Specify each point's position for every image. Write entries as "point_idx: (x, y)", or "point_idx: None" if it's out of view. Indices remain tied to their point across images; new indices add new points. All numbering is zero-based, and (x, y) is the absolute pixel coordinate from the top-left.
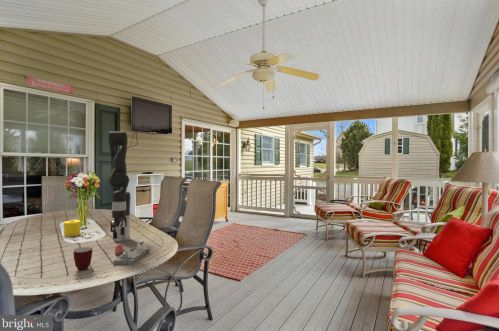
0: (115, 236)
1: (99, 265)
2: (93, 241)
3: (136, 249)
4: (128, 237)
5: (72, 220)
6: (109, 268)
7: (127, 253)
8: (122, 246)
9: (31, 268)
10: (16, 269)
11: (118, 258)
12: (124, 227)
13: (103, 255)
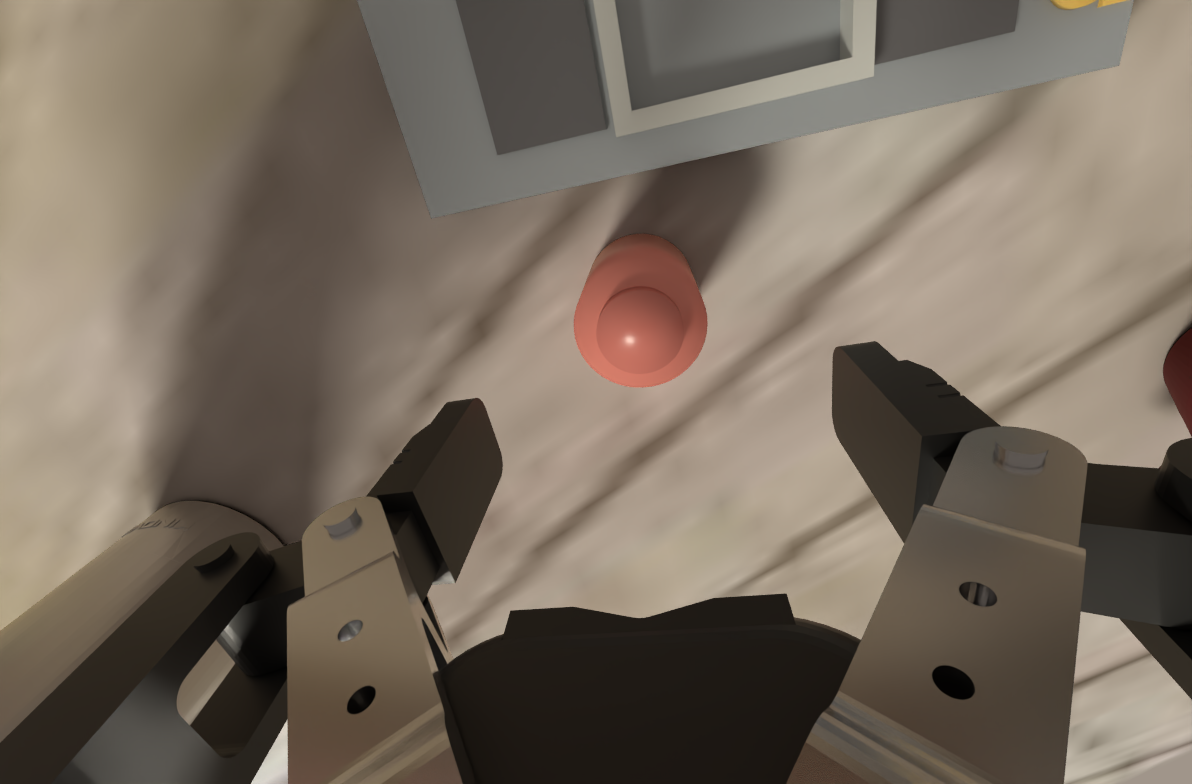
0: (933, 381)
1: (1094, 250)
2: None
3: (508, 34)
4: (165, 521)
5: None
6: None
7: (731, 66)
8: (641, 260)
9: (1082, 726)
10: (1089, 778)
11: (1015, 40)
12: (372, 521)
13: (717, 438)
